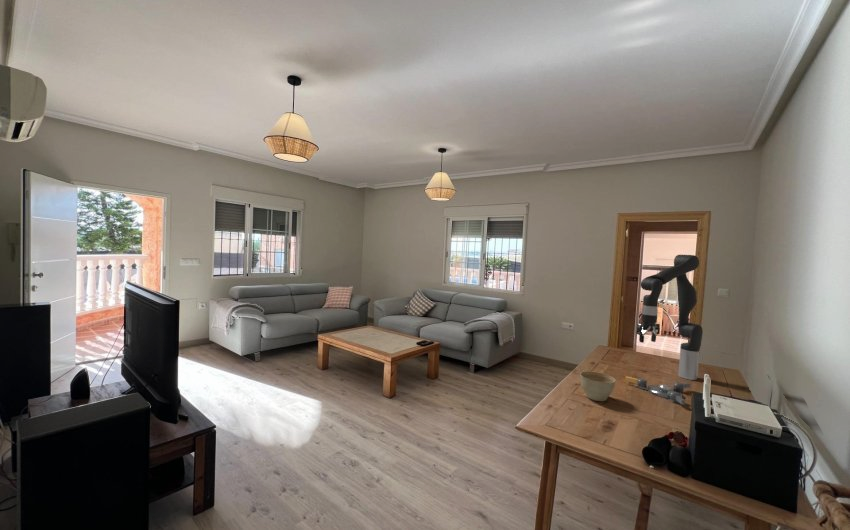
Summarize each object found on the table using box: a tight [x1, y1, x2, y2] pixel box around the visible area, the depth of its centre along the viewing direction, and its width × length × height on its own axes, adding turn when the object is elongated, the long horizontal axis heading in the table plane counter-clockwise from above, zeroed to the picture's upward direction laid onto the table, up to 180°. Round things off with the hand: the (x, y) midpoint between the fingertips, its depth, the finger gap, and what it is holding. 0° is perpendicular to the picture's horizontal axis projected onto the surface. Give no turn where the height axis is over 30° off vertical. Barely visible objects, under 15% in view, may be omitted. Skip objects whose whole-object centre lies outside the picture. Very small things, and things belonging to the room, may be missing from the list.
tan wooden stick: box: [624, 376, 648, 387], centre depth 199 cm, size 10×4×3 cm, turn 50°
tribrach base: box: [638, 383, 683, 404], centre depth 191 cm, size 21×19×4 cm
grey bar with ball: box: [673, 381, 691, 392], centre depth 194 cm, size 10×4×3 cm, turn 110°
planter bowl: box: [579, 370, 617, 402], centre depth 180 cm, size 16×16×11 cm
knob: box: [669, 391, 686, 406], centre depth 177 cm, size 10×4×3 cm, turn 170°
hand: (647, 341), depth 203 cm, fingers open, 8 cm apart
